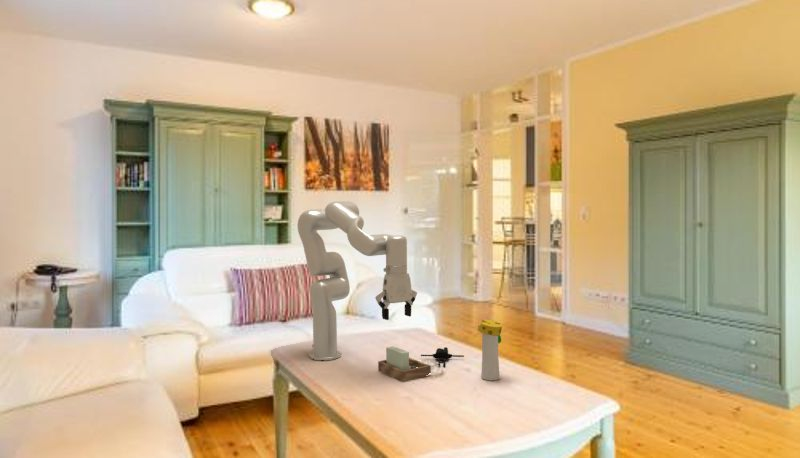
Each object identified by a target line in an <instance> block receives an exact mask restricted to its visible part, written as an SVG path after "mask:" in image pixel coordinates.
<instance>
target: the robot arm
mask: <svg viewBox="0 0 800 458" xmlns="http://www.w3.org/2000/svg"><path fill="white" fill-rule="evenodd" d="M364 225H365V222H364V219H363V217H362V216H360V209H359V207H358V205H357V204H356V203H355V202H352V201H332V202H330V203H328V204H327V205H326V206H325V208H324V209H322V208H317V209H309V210H305V211H303V212H302V213H301V214H300V215H299V217H298V220H297V232H298V235H299V238H300V240H301V242H302V246H303V250H304V255H305V260H306V264H307V268H308V272H309V274H310V275H312V277H326V276H329V277H328V278H327V277H326V278H322V279H317V280H315V281H313V282H312V284H311V285H310V287H309V297H310V301H311V308H312V337H313V338H312V342H313V343H312V348H313V351H312V352H310V353H309V358H310V359H311V360H313V359H314V361H321V360H324V361H331V360H337V359H339V358H340V357H341V356H342V352H341V351H339V350H338V329H337V328H338V325H337V324H338V323H337V320H338V319H337V310H336V308H335V305H334V304H333V302H335V301H340V300H343V299H345V298H347V297H348V296H349V295H350V292H351V291H350V290H351V289H350V288H351V287H350V282H349V281H350V280H349V276H348V272H347V269H346V263H345V261H344V259H343V257H342V255H341V254H340V253H338V252H336V251H327V250H326V246H325V242H324V239H323V237H322V236H321V235H320V234H319V233H318V231H321V230H322V231H325V230H326V231H330V230H335V229H339V230H340V231H342V232H343V233H345V234H346V237H347V240H348V243H349V244H350V245H351V246H352V248H354V249H355V250H356V251H357V252H358V253H361V255H363V256H366V257H374V256H375V257H376V256H383V255H385V267H384V268H383V272H385V274H384V277H383V282H382V292H380V293H379V294H377V295H376V296H375V297H374V298H375V300H376V302H377V305H378V306H380V308H381V317H382V319H383V320H386V321H388V320H389V319H390V315H389V314H390V312H389V311H390V309H389V307H390V304H399V303H405V304H404V316H406V317H409V318H410V317H411V316H412V306H413V305H414V302H415V301H416V297H417V295H418V292H417V291H415V290H413V289H412V283H411V277H410V273H408V253H407V252H408V246H407V245H408V241H407V237H406V236H404V235H392V234H387V233H386V234H383V233H382V234H370V235H369V234H368V233H366V232H365V231H363V228H364Z"/></svg>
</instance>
